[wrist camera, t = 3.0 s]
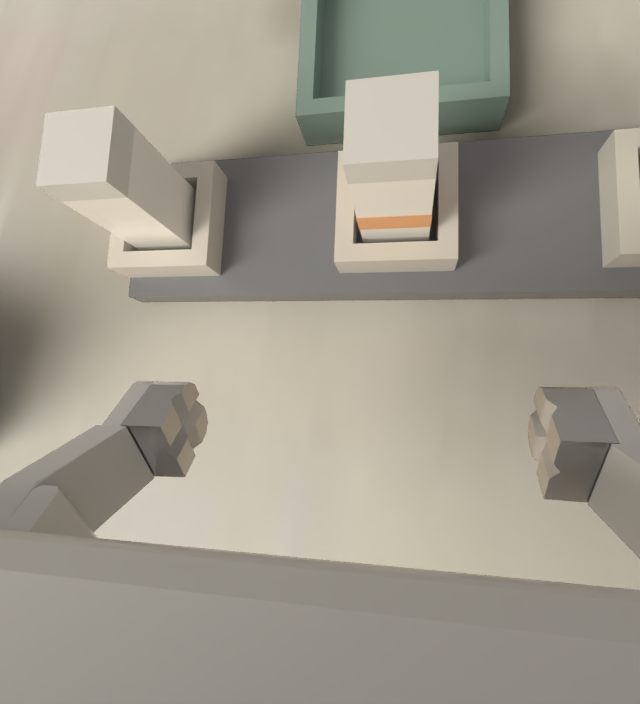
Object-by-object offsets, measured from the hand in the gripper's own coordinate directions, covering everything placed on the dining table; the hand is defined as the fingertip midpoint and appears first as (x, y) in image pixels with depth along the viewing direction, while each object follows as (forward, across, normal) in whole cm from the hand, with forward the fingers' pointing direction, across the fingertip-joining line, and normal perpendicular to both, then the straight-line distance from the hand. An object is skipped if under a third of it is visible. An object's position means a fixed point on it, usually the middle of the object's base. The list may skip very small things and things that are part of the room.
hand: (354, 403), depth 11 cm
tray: (+27, -1, -5) cm, 28 cm away
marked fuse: (+18, 0, +2) cm, 18 cm away
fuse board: (+19, 0, +3) cm, 19 cm away
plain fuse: (+18, +14, +2) cm, 23 cm away
